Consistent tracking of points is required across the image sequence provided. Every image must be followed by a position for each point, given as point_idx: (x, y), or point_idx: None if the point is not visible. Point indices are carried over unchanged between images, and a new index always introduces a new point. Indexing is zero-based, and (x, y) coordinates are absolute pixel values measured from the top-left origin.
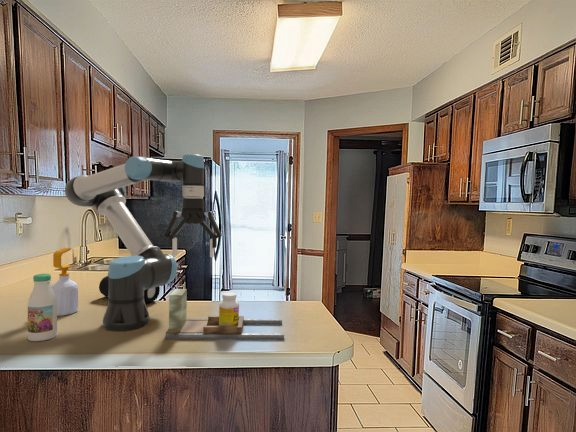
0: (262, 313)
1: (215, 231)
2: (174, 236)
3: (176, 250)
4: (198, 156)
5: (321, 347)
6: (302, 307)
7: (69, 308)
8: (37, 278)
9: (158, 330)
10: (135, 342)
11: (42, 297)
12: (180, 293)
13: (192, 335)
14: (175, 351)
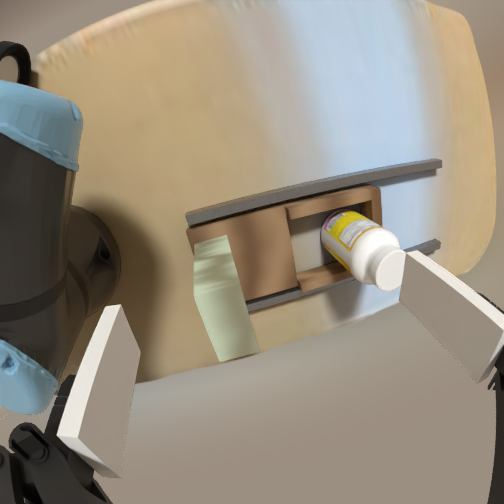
0: (392, 87)
1: None
2: (65, 463)
3: (116, 346)
4: None
5: (468, 258)
6: (453, 47)
7: None
8: None
9: (171, 276)
10: (169, 340)
11: (9, 413)
12: (246, 338)
13: (277, 302)
14: (266, 348)
